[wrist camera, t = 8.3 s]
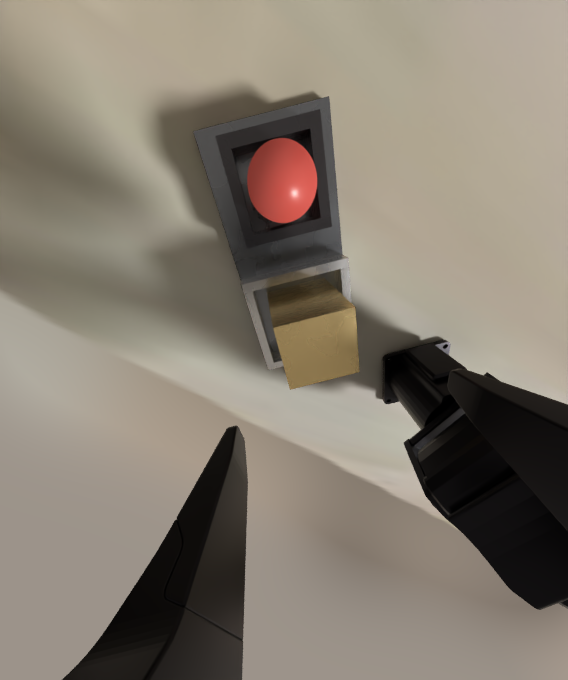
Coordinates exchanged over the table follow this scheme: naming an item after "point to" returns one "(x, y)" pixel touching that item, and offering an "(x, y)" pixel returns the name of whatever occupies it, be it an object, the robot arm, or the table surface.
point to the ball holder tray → (265, 235)
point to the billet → (314, 332)
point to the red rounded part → (282, 180)
